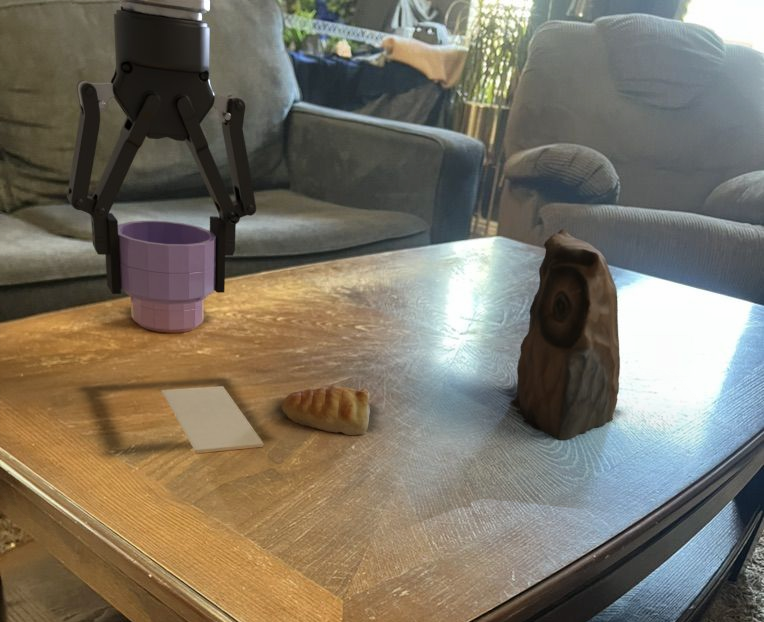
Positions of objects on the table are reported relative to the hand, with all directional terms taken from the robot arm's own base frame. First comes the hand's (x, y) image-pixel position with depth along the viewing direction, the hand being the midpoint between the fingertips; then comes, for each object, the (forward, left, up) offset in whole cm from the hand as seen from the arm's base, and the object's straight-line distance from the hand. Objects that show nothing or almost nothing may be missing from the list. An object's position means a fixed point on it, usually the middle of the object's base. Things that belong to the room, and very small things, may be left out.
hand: (166, 288), depth 74 cm
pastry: (+16, -6, -13) cm, 21 cm away
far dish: (+6, +26, -12) cm, 29 cm away
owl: (+44, -10, -13) cm, 47 cm away
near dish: (0, 0, 0) cm, 0 cm away
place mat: (0, -3, -12) cm, 13 cm away
